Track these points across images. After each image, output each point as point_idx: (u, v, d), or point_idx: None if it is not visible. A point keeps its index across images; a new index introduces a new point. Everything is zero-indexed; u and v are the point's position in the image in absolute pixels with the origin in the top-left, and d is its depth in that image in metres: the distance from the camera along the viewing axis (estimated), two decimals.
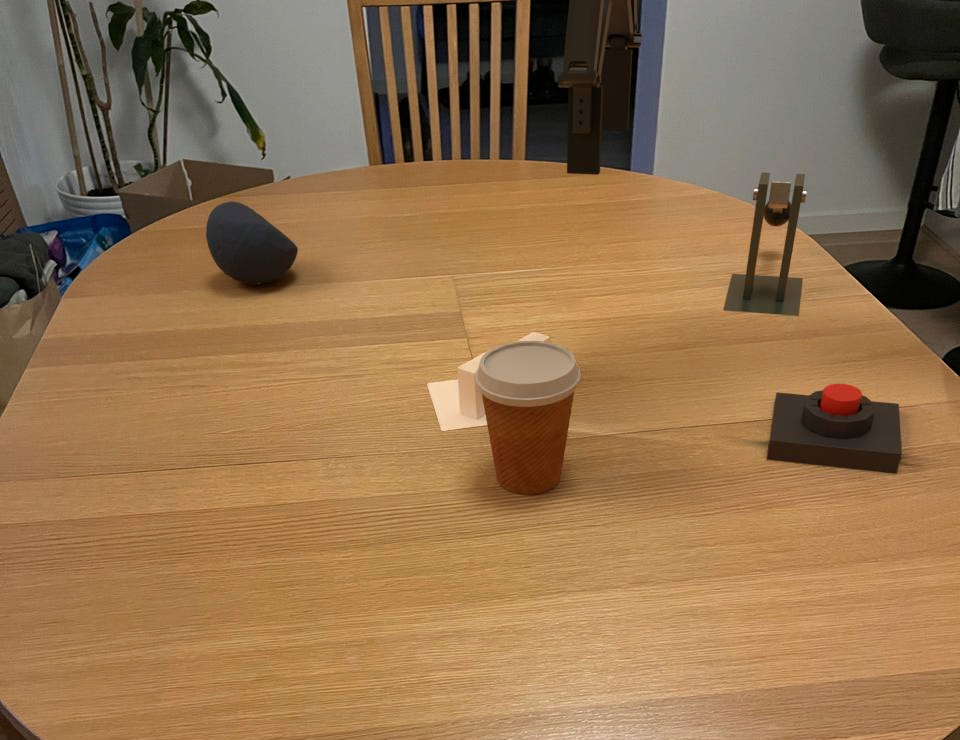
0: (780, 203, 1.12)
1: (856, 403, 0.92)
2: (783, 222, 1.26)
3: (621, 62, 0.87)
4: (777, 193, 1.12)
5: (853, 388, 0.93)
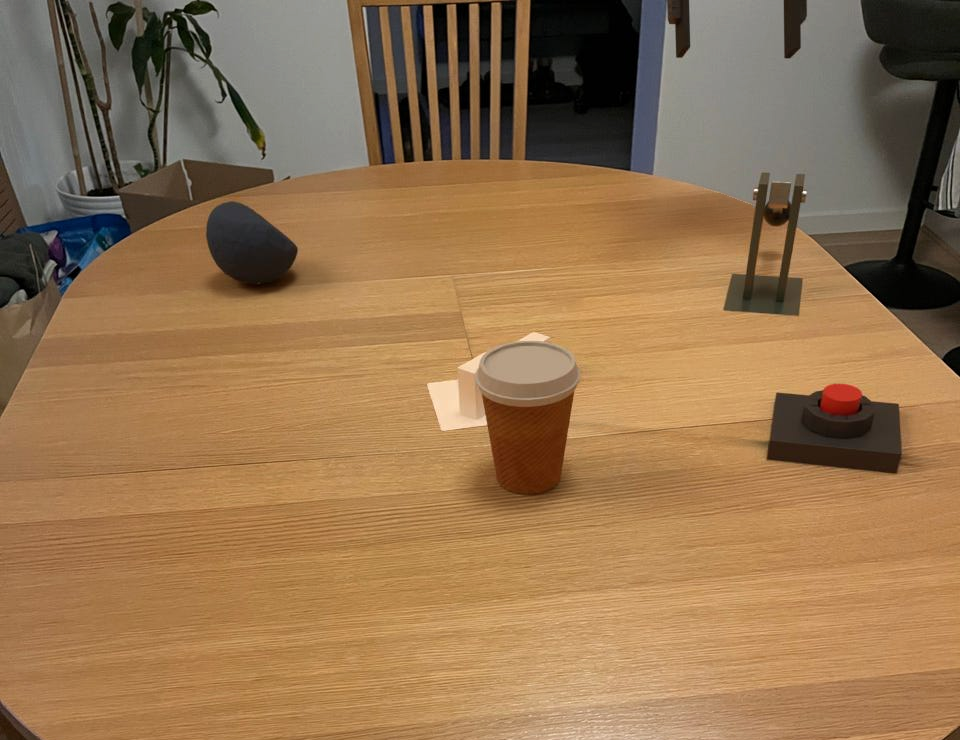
0: (780, 203, 1.12)
1: (856, 403, 0.92)
2: (783, 222, 1.26)
3: (790, 0, 1.13)
4: (777, 193, 1.12)
5: (853, 388, 0.93)
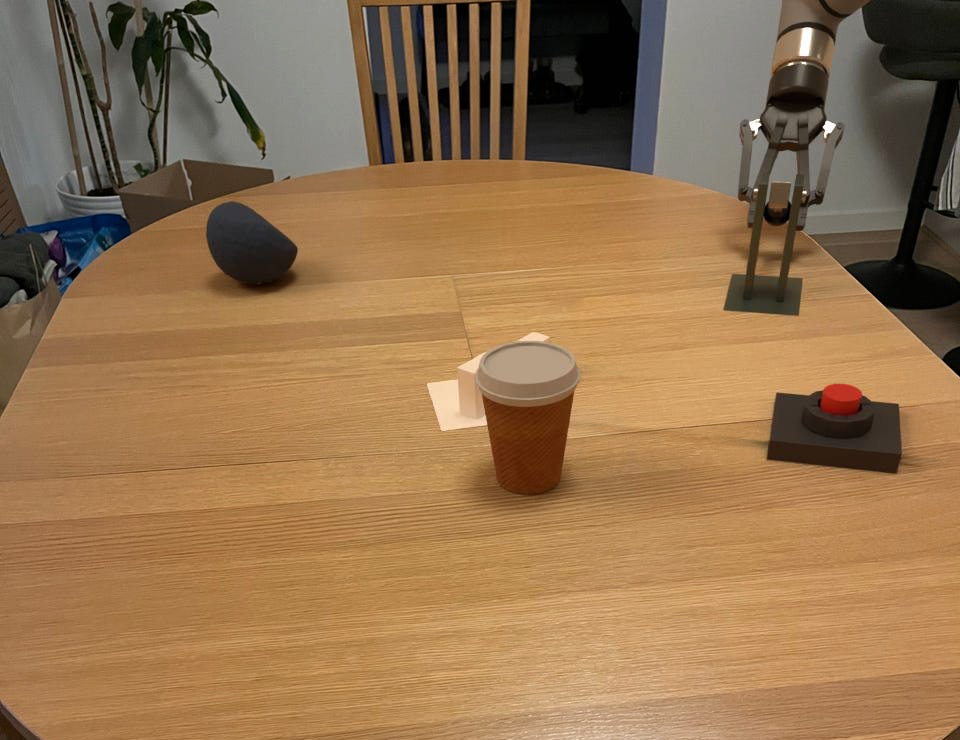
0: (780, 203, 1.12)
1: (856, 403, 0.92)
2: (783, 222, 1.26)
3: None
4: (777, 193, 1.12)
5: (853, 388, 0.93)
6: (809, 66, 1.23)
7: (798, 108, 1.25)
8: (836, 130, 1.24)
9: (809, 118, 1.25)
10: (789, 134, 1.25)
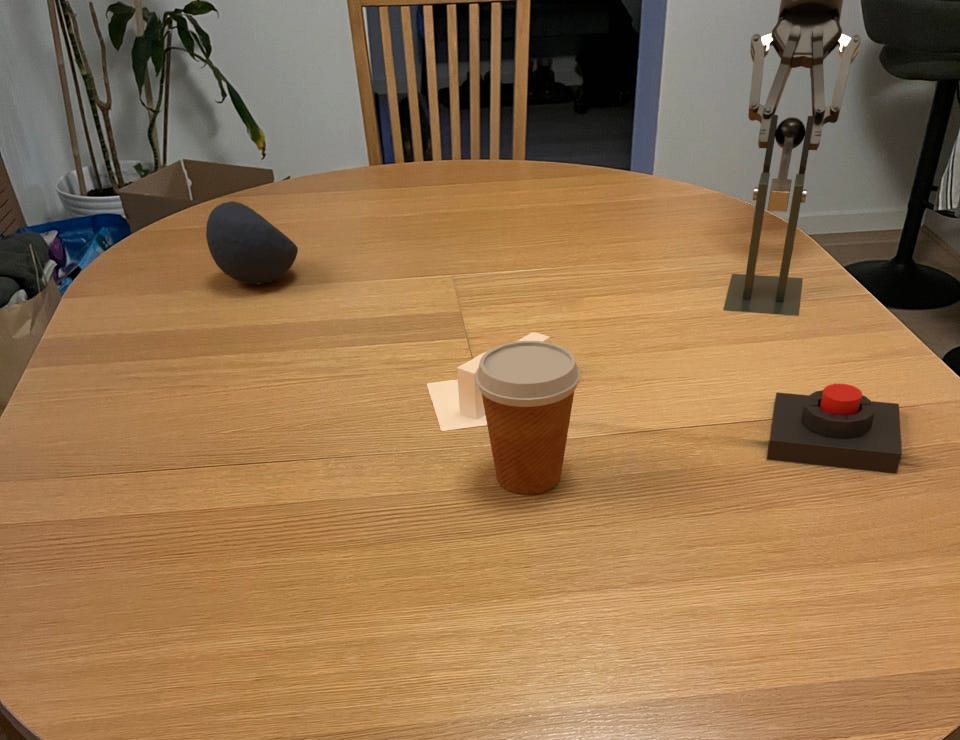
0: (779, 210, 1.13)
1: (856, 403, 0.92)
2: (795, 147, 1.21)
3: None
4: (776, 201, 1.12)
5: (853, 388, 0.93)
6: None
7: (812, 21, 1.19)
8: (852, 43, 1.18)
9: (824, 31, 1.19)
10: (803, 48, 1.19)
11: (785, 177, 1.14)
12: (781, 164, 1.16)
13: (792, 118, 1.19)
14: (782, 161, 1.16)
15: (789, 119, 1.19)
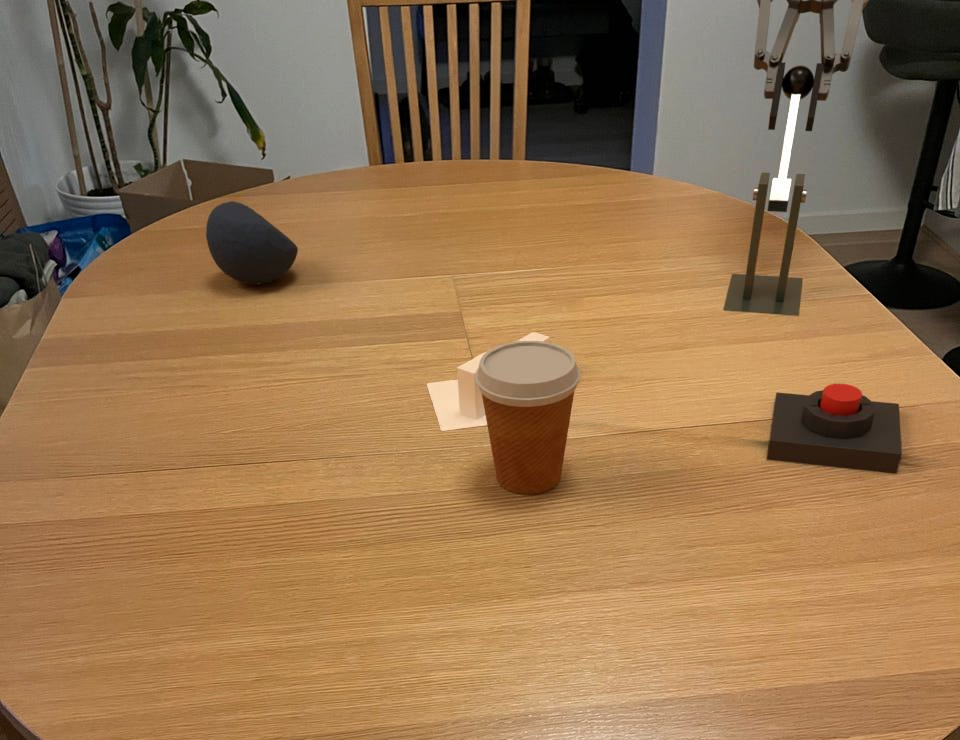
0: (779, 211, 1.14)
1: (856, 403, 0.92)
2: None
3: None
4: (775, 206, 1.13)
5: (853, 388, 0.93)
6: None
7: None
8: None
9: None
10: None
11: (786, 168, 1.13)
12: (784, 145, 1.13)
13: (800, 70, 1.12)
14: (785, 140, 1.13)
15: (796, 73, 1.12)
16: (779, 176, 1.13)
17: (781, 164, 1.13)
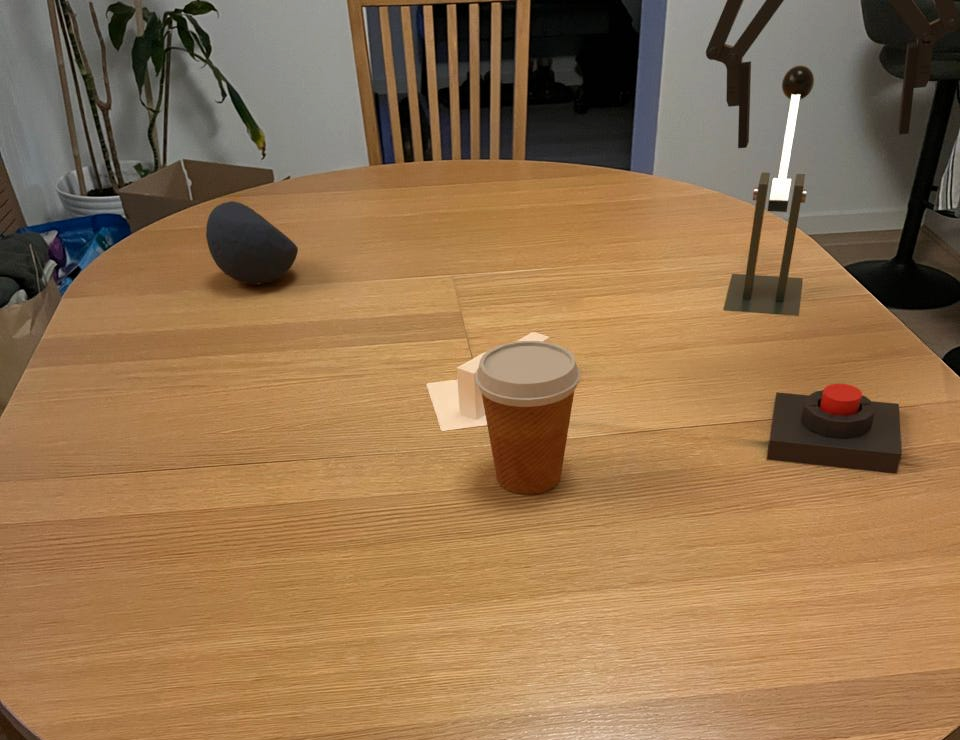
0: (779, 211, 1.14)
1: (856, 403, 0.92)
2: None
3: None
4: (775, 206, 1.13)
5: (853, 388, 0.93)
6: None
7: None
8: None
9: None
10: None
11: (786, 168, 1.13)
12: (784, 145, 1.13)
13: (799, 70, 1.12)
14: (785, 140, 1.13)
15: (796, 73, 1.13)
16: (779, 176, 1.13)
17: (781, 164, 1.13)
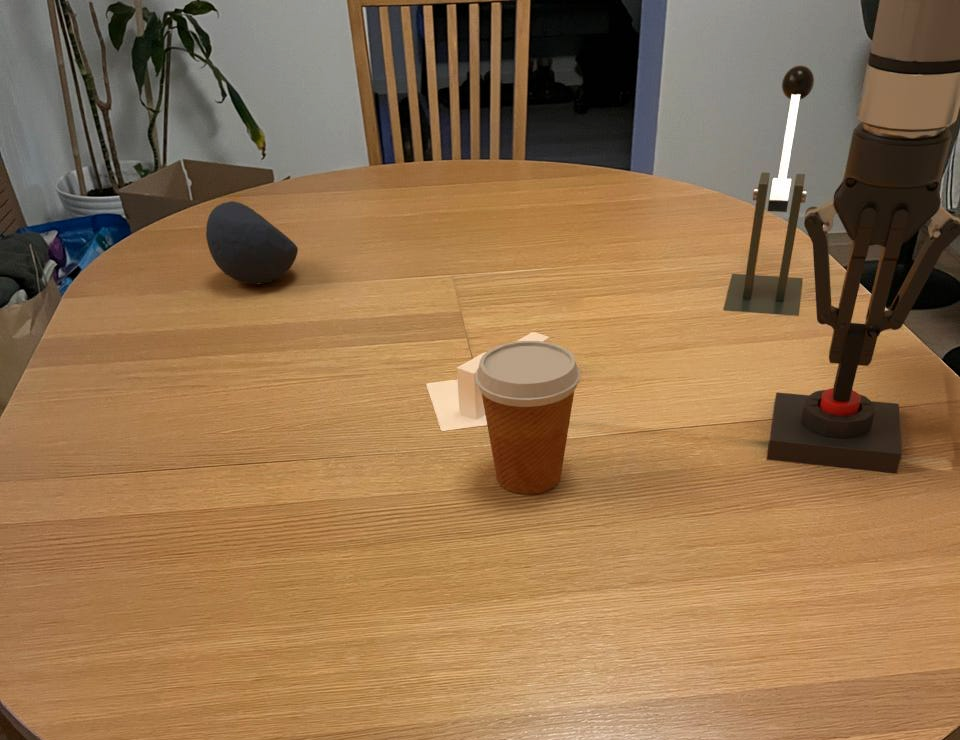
0: (779, 211, 1.14)
1: (855, 407, 0.92)
2: None
3: None
4: (775, 206, 1.13)
5: (852, 392, 0.93)
6: (917, 146, 0.75)
7: (895, 191, 0.79)
8: (947, 235, 0.80)
9: (912, 206, 0.80)
10: (878, 234, 0.82)
11: (786, 168, 1.13)
12: (784, 145, 1.13)
13: (799, 70, 1.12)
14: (785, 140, 1.13)
15: (796, 73, 1.13)
16: (779, 176, 1.13)
17: (781, 164, 1.13)
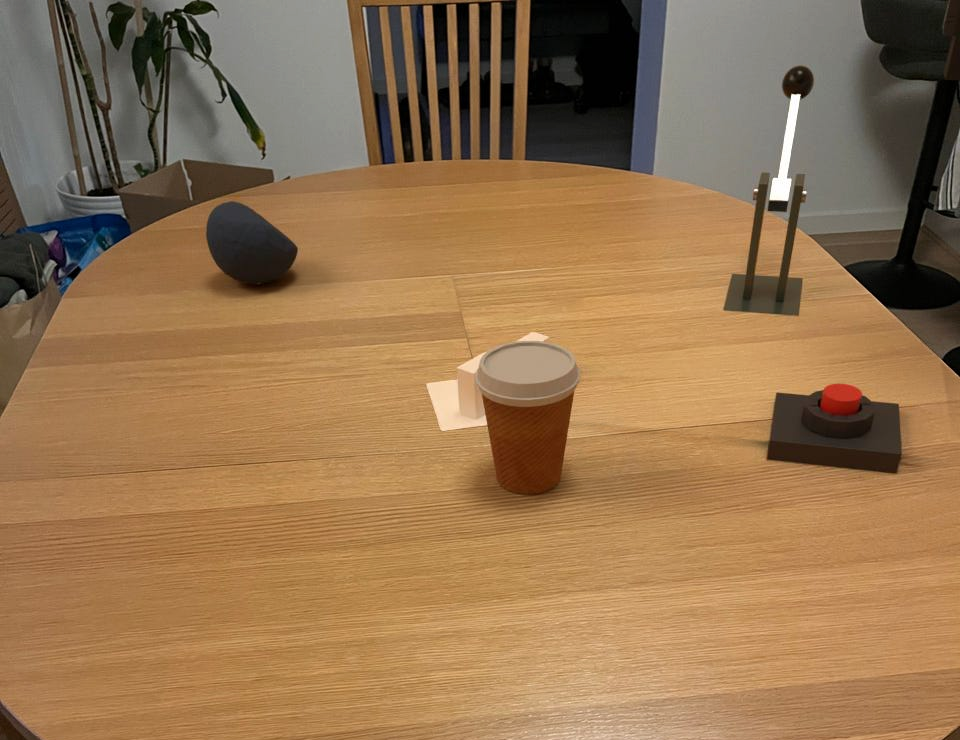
0: (779, 211, 1.14)
1: (856, 403, 0.92)
2: None
3: None
4: (775, 206, 1.13)
5: (853, 388, 0.93)
6: None
7: None
8: None
9: None
10: None
11: (786, 168, 1.13)
12: (784, 145, 1.13)
13: (799, 70, 1.12)
14: (785, 140, 1.13)
15: (796, 73, 1.13)
16: (779, 176, 1.13)
17: (781, 164, 1.13)
